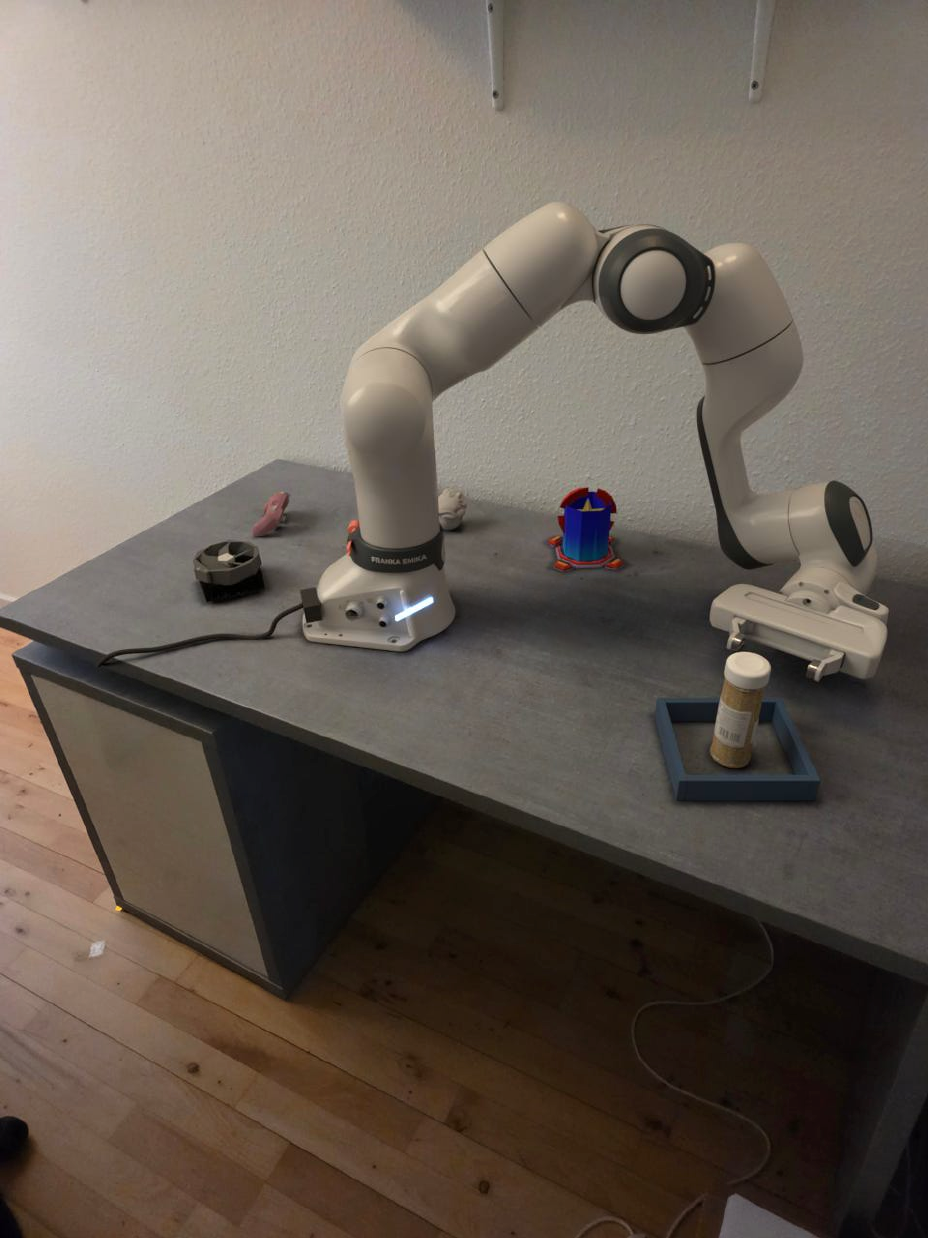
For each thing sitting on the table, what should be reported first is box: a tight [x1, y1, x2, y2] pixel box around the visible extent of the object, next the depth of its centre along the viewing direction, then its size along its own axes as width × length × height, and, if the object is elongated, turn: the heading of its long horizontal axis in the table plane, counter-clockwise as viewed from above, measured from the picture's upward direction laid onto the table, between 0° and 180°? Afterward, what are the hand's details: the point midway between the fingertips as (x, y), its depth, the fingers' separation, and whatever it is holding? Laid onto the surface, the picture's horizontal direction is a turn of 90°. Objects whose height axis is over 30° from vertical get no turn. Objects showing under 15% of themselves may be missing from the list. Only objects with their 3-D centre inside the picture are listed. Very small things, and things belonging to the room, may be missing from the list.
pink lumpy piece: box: [251, 490, 291, 537], centre depth 142 cm, size 10×5×7 cm, turn 179°
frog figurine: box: [438, 488, 468, 531], centre depth 139 cm, size 6×7×7 cm
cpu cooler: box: [192, 539, 266, 604], centre depth 125 cm, size 10×6×10 cm
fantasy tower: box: [546, 486, 626, 574], centre depth 128 cm, size 12×12×12 cm
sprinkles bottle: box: [709, 651, 772, 769], centre depth 87 cm, size 5×5×13 cm
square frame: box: [654, 696, 821, 801], centre depth 90 cm, size 15×14×3 cm
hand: (771, 659), depth 92 cm, fingers open, 8 cm apart
